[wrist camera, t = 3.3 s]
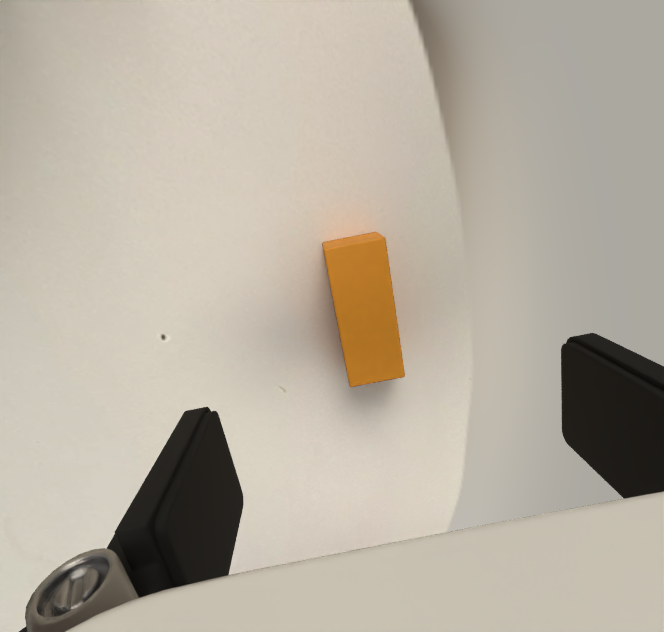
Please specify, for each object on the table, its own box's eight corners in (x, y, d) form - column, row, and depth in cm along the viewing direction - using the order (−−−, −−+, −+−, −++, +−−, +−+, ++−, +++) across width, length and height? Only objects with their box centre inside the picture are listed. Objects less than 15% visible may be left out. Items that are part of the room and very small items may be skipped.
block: (322, 242, 20) (323, 248, 17) (376, 231, 20) (385, 236, 17) (346, 367, 22) (349, 388, 20) (395, 358, 22) (405, 377, 20)
